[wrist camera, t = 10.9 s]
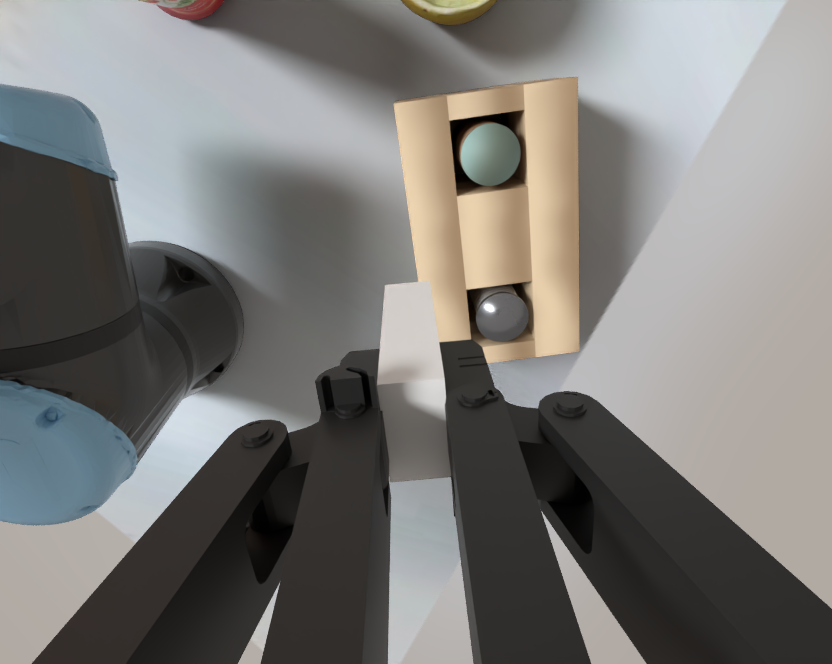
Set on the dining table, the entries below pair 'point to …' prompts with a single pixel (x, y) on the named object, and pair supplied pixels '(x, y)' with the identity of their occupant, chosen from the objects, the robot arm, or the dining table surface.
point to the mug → (449, 10)
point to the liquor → (187, 7)
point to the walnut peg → (485, 150)
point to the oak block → (498, 212)
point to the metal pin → (499, 312)
